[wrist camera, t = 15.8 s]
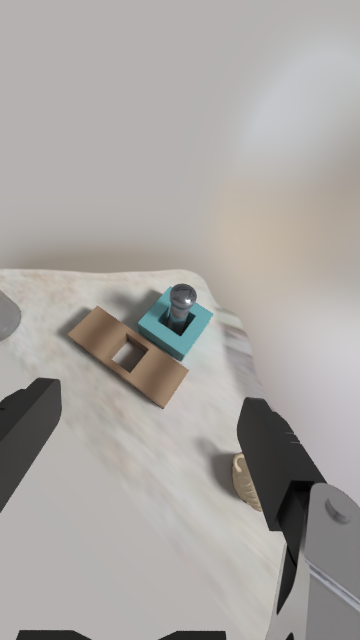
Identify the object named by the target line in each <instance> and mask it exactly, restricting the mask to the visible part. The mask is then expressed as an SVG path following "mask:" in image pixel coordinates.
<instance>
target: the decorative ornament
mask: <svg viewBox="0 0 360 640" xmlns="http://www.w3.org/2000/svg"><path fill="white" fill-rule="evenodd" d="M232 472H233V474H232V478H233V485H234V488H235V489H236V491H237V493H238V495H239V497H240V498H241V499H242V500H245V501H246V502H247V504H248V505H250V506H251V507H252V508H253V509H255V510H257V511H260V512H262V511H263V510H262V508H261V505H260V502H259V499H258V496H257V493H256V490H255V487H254V484H253V481H252V479H251V476H250V473H249V470H248V467H247V464H246V461H245V458H244V455H243V453H242V454H241V453H239V454H236V455H235V456H234V458H233V467H232Z"/></svg>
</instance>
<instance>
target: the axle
mask: <svg viewBox="0 0 360 640" xmlns="http://www.w3.org/2000/svg"><path fill="white" fill-rule="evenodd" d="M196 298H197V295H196V292H195V290H194V289H193V288H192V287H191V286H189V285H187V284H178V285H175V286H174V287H173V288H172V289H171V291H170V302H171V306H170V312H169V317H168V323H167V328H168V329H170V330H171V331H173V332H174V333H176V334H177V335H178V334H180V333H181V332H182V330H183V327H184V324H185V321H186V319H187V316H188V313H189V310H190V308H191V307H192V306H193V305H194V303H195V301H196Z"/></svg>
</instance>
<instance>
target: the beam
mask: <svg viewBox="0 0 360 640" xmlns="http://www.w3.org/2000/svg"><path fill="white" fill-rule="evenodd" d="M67 335H68V336H69V337H70V338H71V339H72V340H73V341H74V342H75V343H76V344H78V345H79V346H80V347H82V348H83V349H84V350H86V351H87V352H88V353H90V354H91V355H92V356H94V357H95V358H96V359H98V360H99V361H100V362H102V363H103V364H104V365H106V366H107V367H108V368H109V369H111V370H112V371H113V372H115V373H116V374H117V375H119V376H120V377H121V378H123V379H124V380H125V381H127V382H128V383H129V384H131V385H132V386H133V387H135V388H136V389H137V390H139V391H140V392H141V393H143V394H144V395H145V396H147V397H148V398H149V399H150V400H152V401H153V402H154V403H156V404H157V405H158V406H160V407H161V408H162V409H164V407H165V406H166V404H167V403H168V401H169V400H170V398H171V397H172V395H173V394H174V392H175V391H176V389H177V388H178V386H179V385H180V383H181V382H182V380H183V379H184V377H185V376H186V374H187V373H188V371H189V370H188V369H186V368H185V367H184V366H182V365H181V364H179V363H178V362H177V361H175V360H174V359H172V358H171V357H169V356H168V355H167V354H165V353H164V352H162V351H161V350H160V349H158V348H157V347H155V346H154V345H152V344H151V343H150V342H148V341H147V340H145V339H144V338H143V337H141V336H140V335H138V334H137V333H135V332H134V331H133V330H131V329H130V328H128V327H127V326H126V325H124V324H123V323H121V322H120V321H118V320H117V319H116V318H114V317H113V316H111V315H110V314H108V313H107V312H106V311H104V310H103V309H101V308H100V307H99V306H97V307H96V308H95V309H94V310H93V311H91V312H90V313H89V314H88V315H87V316H86V317H85V318H84V319H83V320H82V321H81V322H80V323H79V324H78V325H77V326H76V327H75V328H74V329H73V330H72V331H70V332H69V333H68V334H67ZM128 340H129V341H130V342H132V343H133V344H134V345H136V346H137V347H139V348H140V349H141V350H143V351H144V352H146V354H145V355H144V357H143V358H142V359H141V360H140V362H139V363H138V364H137V365H136V367H135V368H134V369H133V370H132V372H131V373H129V372H127V371H126V370H125V369H123V368H122V367H121V366H119V365H118V364H117V363H115V362H114V361H113V360H111V359H112V358H113V357H114V356H115V355H116V353H117V352H118V351H119V350H120V349H121V348H122V347H123V345H124V344H125V343H126V342H127V341H128Z"/></svg>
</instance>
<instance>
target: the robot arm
mask: <svg viewBox="0 0 360 640" xmlns="http://www.w3.org/2000/svg"><path fill="white" fill-rule="evenodd" d="M20 319H21V311H20V309H19V307H18V306H17V305H16V304H15V303H14V302H13V301H12V300H11V299H10V298H9V297H7V296H6V295H5V294H4V293H3V292H2V291H1V290H0V341H1V340H3V339H5V338H7V337H8V336H9V335H11V334H12V333H13V332H14V331H15V329H16V328H17V327H18V325H19V323H20ZM61 411H62V404H61V384H60V380H59V379H50V378H37V379H36V380H35V381H34V382H33V383H31V384H30V386H28V387H27V388H26V389H20V390H18V391H16V392H14V393H13V394H11V395H9V396H7V397H5V398H4V399H3V400H2V401H1V402H0V513H1V511H2V510H3V508H4V506H5V505H6V503H7V502H8V500H9V498H10V497H11V495H12V494H13V493H14V491H15V489H16V488H17V486H18V485H19V483H20V482H21V480H22V478H23V477H24V475H25V474H26V472H27V471H28V469H29V468H30V466H31V464H32V463H33V461H34V460H35V458H36V457H37V455H38V454H39V452H40V451H41V449H42V447H43V446H44V444H45V443H46V441H47V440H48V438H49V437H50V435H51V434H52V432H53V430H54V429H55V427H56V426H57V424H58V422H59V419H60V416H61ZM237 437H238V441H239V444H240V447H241V449H242V452H243V455H244V458H245V461H246V464H247V467H248V470H249V473H250V476H251V479H252V481H253V484H254V487H255V490H256V493H257V496H258V499H259V502H260V505H261V508H262V510H263V513H264V516H265V519H266V522H267V525H268V528H269V531H282V532H283V535H284V537H285V540H286V543H285V545H284V548H283V554H282V560H281V565H280V571H279V577H278V582H277V588H276V594H275V599H274V605H273V611H272V616H271V621H270V625H269V629H268V632H267V635H266V638H265V640H360V508H359V506H358V505H357V504H356V503H355V502H354V501H353V500H352V499H351V498H350V497H349V496H348V495H346V494H345V493H344V492H343V491H341V490H339V489H338V488H336V487H334V486H332V485H329V484H327V482H326V481H325V479H324V478H323V476H322V475H321V473H320V472H319V470H318V469H317V467H316V465H315V464H314V462H313V461H312V459H311V458H310V456H309V455H308V453H307V452H306V450H305V449H304V447H303V446H302V444H300V441H299V440H298V438H297V437H296V435H294V432H293V431H292V429H291V428H290V426H289V424H288V423H287V422H286V421H285V420H284V419H283V418H282V417H281V416H280V415H279V414H278V413H277V412H272V410H271V409H270V407H269V405H268V404H267V402H266V401H265V400H264V399H261V398H250V397H246V398H245V400H244V402H243V406H242V410H241V413H240V417H239V420H238V424H237ZM16 640H91V639H89V638H87V637H85V636H83V635H81V634H79V633H77V632H75V631H72V630H20V631H19V633H18V636H17V638H16ZM159 640H226V633H225V631H176V632H174V633H172V634H170V635H167V636H165V637H163V638H161V639H159Z"/></svg>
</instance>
